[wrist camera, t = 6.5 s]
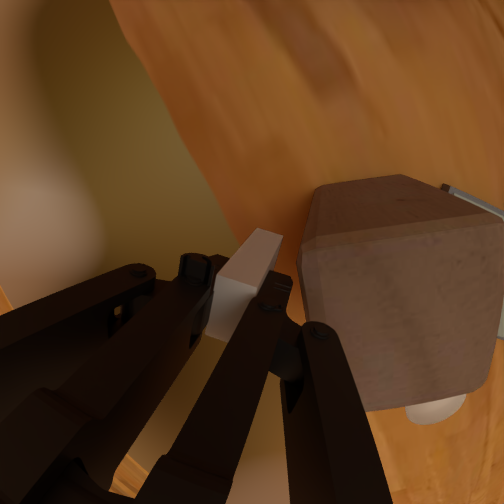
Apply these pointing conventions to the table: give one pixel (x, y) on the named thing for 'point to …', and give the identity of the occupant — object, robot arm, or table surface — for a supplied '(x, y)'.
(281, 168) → the table surface
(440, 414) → the white rounded cylinder
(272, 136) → the table surface
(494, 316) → the wooden block
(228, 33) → the table surface
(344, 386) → the robot arm
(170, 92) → the table surface
